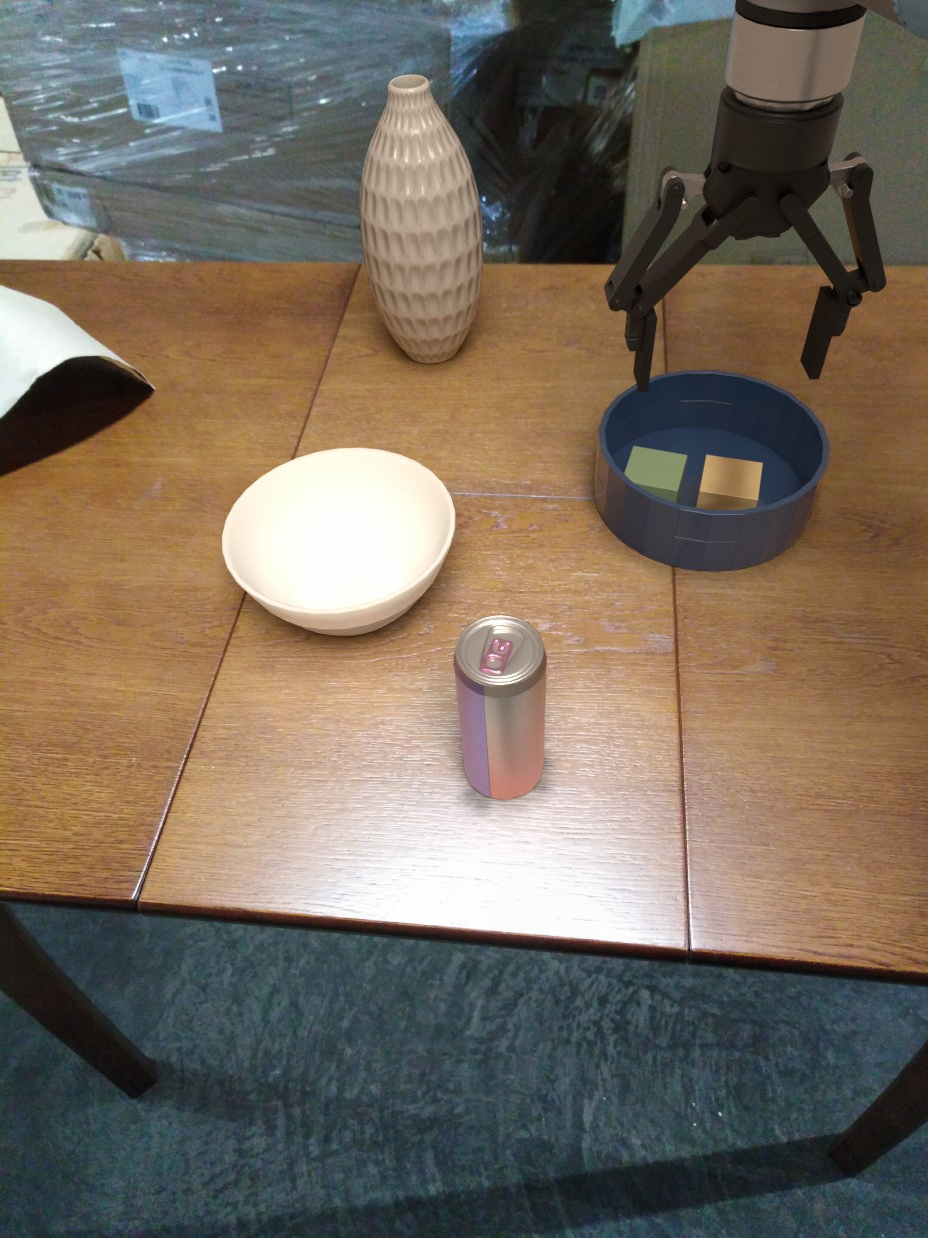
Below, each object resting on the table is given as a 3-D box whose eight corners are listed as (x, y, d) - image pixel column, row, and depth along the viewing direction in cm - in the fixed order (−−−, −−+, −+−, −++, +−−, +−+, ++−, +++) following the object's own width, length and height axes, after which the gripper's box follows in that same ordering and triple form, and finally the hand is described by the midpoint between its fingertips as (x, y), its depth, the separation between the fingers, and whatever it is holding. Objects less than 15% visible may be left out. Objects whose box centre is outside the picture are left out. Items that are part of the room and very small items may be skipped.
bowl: (252, 524, 86) (230, 458, 80) (452, 504, 87) (446, 436, 80) (237, 688, 74) (210, 626, 68) (471, 664, 74) (466, 599, 68)
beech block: (752, 503, 84) (762, 462, 80) (746, 540, 81) (758, 499, 77) (698, 495, 85) (706, 454, 81) (691, 531, 82) (699, 490, 78)
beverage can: (452, 789, 67) (437, 671, 55) (481, 726, 70) (472, 602, 59) (528, 814, 65) (529, 698, 54) (553, 748, 69) (559, 625, 57)
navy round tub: (816, 444, 90) (835, 385, 84) (801, 590, 78) (822, 533, 72) (616, 414, 94) (622, 357, 89) (573, 548, 82) (577, 491, 77)
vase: (408, 395, 98) (376, 122, 76) (359, 340, 105) (317, 76, 84) (507, 358, 102) (503, 86, 80) (453, 306, 109) (436, 45, 87)
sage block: (687, 454, 81) (633, 445, 82) (677, 490, 78) (621, 480, 80) (680, 495, 85) (628, 485, 86) (670, 531, 82) (617, 520, 83)
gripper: (960, 49, 58) (864, 337, 74) (575, 79, 58) (564, 359, 75) (1010, 95, 53) (896, 392, 69) (591, 126, 53) (576, 415, 70)
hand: (724, 375), depth 72 cm, fingers open, 13 cm apart
